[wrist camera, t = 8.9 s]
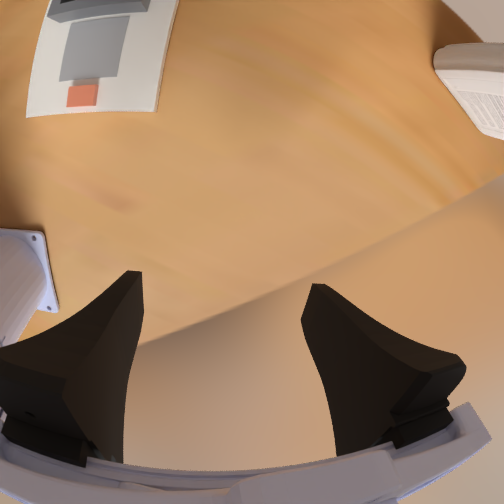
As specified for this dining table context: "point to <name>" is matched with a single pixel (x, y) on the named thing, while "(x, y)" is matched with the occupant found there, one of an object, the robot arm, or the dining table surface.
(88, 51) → the white flat rectangular base
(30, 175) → the dining table surface
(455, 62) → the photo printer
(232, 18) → the dining table surface
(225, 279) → the dining table surface
